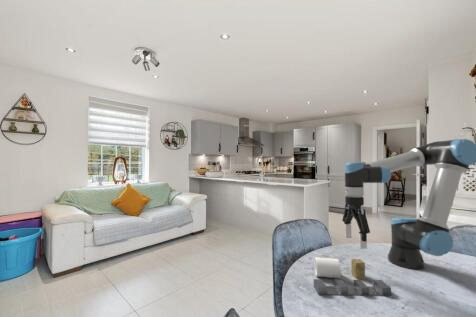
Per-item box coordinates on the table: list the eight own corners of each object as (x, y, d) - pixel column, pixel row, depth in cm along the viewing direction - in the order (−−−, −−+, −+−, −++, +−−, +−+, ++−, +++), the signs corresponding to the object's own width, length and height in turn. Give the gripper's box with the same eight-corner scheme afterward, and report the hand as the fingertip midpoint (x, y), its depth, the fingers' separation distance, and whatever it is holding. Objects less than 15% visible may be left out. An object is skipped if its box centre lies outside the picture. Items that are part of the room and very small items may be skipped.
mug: (341, 282, 98) (341, 263, 98) (317, 279, 100) (316, 261, 100) (335, 269, 110) (335, 252, 110) (313, 267, 112) (313, 251, 112)
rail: (381, 287, 94) (381, 279, 94) (391, 295, 88) (391, 287, 88) (313, 286, 94) (313, 279, 94) (318, 294, 88) (318, 287, 88)
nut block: (360, 274, 105) (360, 259, 105) (365, 278, 101) (364, 262, 101) (351, 274, 105) (351, 259, 105) (355, 278, 101) (355, 262, 101)
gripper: (334, 192, 116) (335, 234, 116) (360, 200, 92) (361, 253, 91) (349, 192, 116) (350, 234, 116) (378, 200, 91) (380, 253, 91)
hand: (355, 242), depth 103 cm, fingers open, 13 cm apart
